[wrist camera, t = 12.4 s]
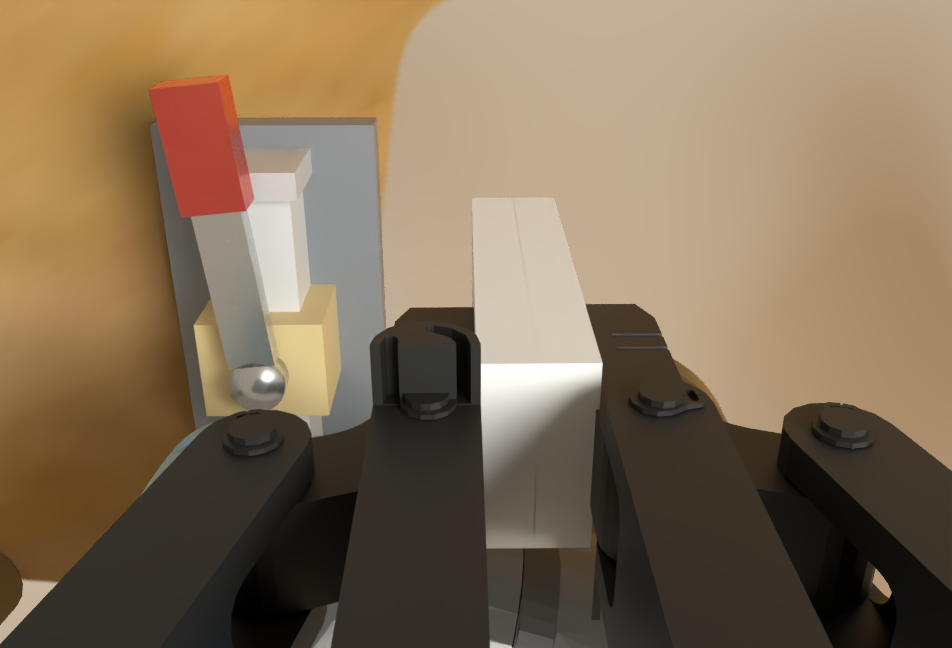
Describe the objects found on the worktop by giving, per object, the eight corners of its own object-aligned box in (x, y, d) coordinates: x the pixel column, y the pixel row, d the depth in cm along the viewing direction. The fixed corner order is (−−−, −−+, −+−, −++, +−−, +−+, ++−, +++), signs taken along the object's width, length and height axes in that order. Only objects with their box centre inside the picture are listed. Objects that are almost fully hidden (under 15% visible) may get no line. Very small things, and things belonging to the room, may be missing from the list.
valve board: (393, 478, 51) (384, 549, 45) (212, 479, 51) (181, 550, 45) (376, 117, 42) (363, 151, 37) (159, 118, 42) (113, 151, 37)
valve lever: (239, 399, 41) (230, 418, 40) (161, 81, 35) (148, 89, 34) (296, 394, 41) (289, 412, 40) (228, 74, 35) (218, 82, 34)
